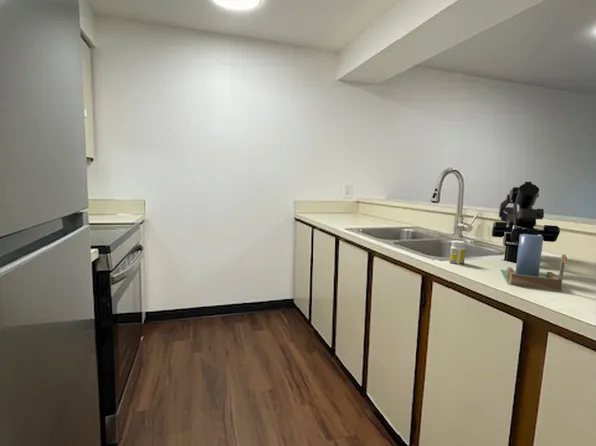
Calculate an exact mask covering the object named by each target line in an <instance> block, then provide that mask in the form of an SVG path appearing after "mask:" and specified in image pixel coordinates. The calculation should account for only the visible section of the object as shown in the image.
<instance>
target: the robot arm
mask: <svg viewBox="0 0 596 446" xmlns="http://www.w3.org/2000/svg"><path fill="white" fill-rule="evenodd" d="M539 192H540V188H539V187H538V186H537V185H535V184H533V183H532V181H524V183H523V184H521V185H520V186H513V187H512V188H511V189H510V190H509V194H507V195H506V198H505V199H504V200H503V201H502V202H501V203H500V205H499V209H498V218H500V221H494V222H493V223H492V229H491V237H493V238H502V245H503V246H504V248H505V249H504V259H501V261H504V262H508V263H511V264H512V263H513V264H517V256H518V247H519V238H520V234H530V235H538V236H543V242H548V243H549V242H550V243H554V242H556V241H557V240H558V237H559V235H560V233H561V228H560V227H559V226H558V225H552V224H550V225H549V224H544V226H543V228H538V227H536V225H537V220H544V216H545V211H544V208H536V209H535V208H533V206H534V205H535V203H536V201H537V199H538V198H539V197H540V196H539V195H540V193H539ZM509 204H511V205H512V204H513V206H512V207H511V206H508V205H509ZM515 243H517V244H515Z"/></svg>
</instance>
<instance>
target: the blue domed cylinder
mask: <svg viewBox="0 0 596 446" xmlns="http://www.w3.org/2000/svg"><path fill="white" fill-rule="evenodd" d="M543 242H544V241H543V236H541V235H530V234H520V238H519V247H518V256H517V264H516V263H515V264H516V265H515V271H516V274H520V275H528V276H536V277H539V274H540V269H541V262H542V261H541V260H542V252H543Z"/></svg>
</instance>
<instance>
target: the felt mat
mask: <svg viewBox="0 0 596 446" xmlns="http://www.w3.org/2000/svg"><path fill="white" fill-rule="evenodd" d="M514 271H515V273H516V270H514ZM500 272H501V274H502V276H503V278H504V280H505V283H507V286H512V285H511V284H510V282H509V280H508V278H507V269H500ZM539 277H545V278H547V274H541V273H539ZM513 286H515V287H518V286H517V285H513ZM520 287H523V288H525V287H524V286H520ZM528 288H529V289H530V288H531V289H533V288H532V287H528ZM535 289H537V290H541V289H540V288H535ZM543 290H545V291H548V290H547V289H543ZM550 291H553V292H556V291H555V290H550ZM558 292H559V293H564V290H562V289H561V291H558Z"/></svg>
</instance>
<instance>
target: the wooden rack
mask: <svg viewBox="0 0 596 446" xmlns="http://www.w3.org/2000/svg"><path fill="white" fill-rule="evenodd" d="M567 259H568V256H566V254H561V258H560V267H559V273H558V274H559V275H558V276H557V275H556V274H555V273H554V272H552V271H547V272H546V273H547V274H546V275H547V278H545V277H536V276H528V275H520V274H516V273H515V271H516V270H514V269H513V267H511V266H510V267H509V266H508V267H507V269H506V270H507V278H508V280H509V282H510V284H511V285H510V286H514V285H517V286H516V287H521V286H524V287H523V288H529V287H532V288H531V289H536V288H540V289H539V290H544V289H547V290H546V291H551V290H555V291H554V292H559V291H561V290H562V287H563V286H562V284H563V278H564V270H565V265H566V264H567Z"/></svg>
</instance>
